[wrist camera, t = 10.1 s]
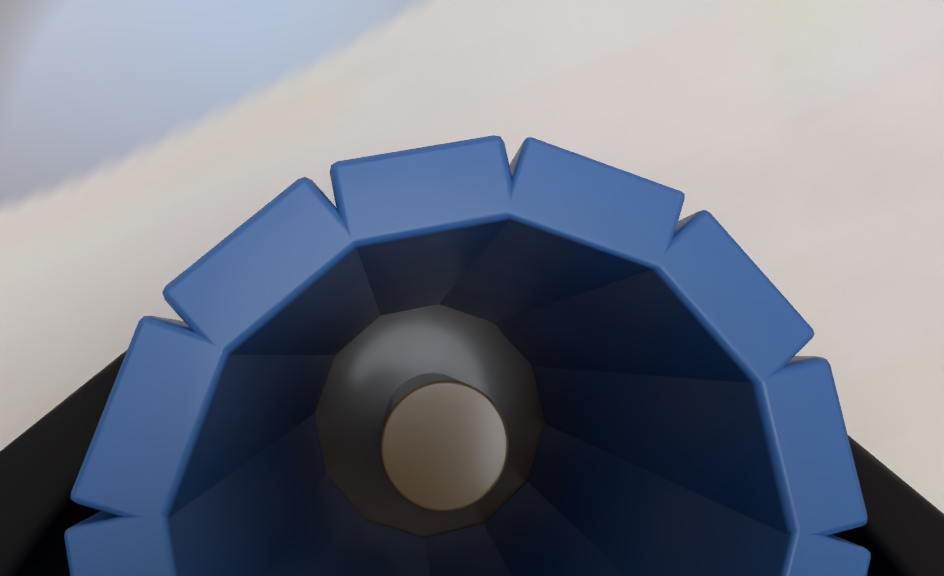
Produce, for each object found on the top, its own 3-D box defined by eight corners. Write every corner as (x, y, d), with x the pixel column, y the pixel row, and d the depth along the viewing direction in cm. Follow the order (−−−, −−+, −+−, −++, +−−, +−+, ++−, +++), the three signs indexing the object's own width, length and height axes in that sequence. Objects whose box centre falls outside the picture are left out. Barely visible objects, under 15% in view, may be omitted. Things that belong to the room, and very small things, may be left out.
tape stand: (638, 475, 17) (751, 532, 12) (362, 644, 16) (345, 794, 11) (491, 205, 17) (534, 138, 12) (208, 352, 16) (113, 351, 11)
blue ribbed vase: (601, 529, 16) (949, 824, 6) (312, 602, 15) (148, 1096, 5) (540, 250, 16) (766, 87, 6) (258, 304, 15) (11, 212, 5)
